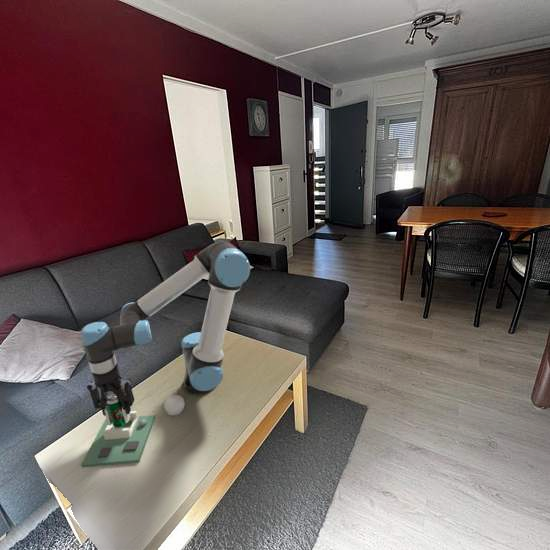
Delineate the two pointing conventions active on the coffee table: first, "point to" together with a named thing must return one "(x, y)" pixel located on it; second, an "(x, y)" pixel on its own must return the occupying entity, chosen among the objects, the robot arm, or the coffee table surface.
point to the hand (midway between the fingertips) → (119, 420)
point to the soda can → (115, 410)
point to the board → (120, 442)
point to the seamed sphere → (174, 405)
